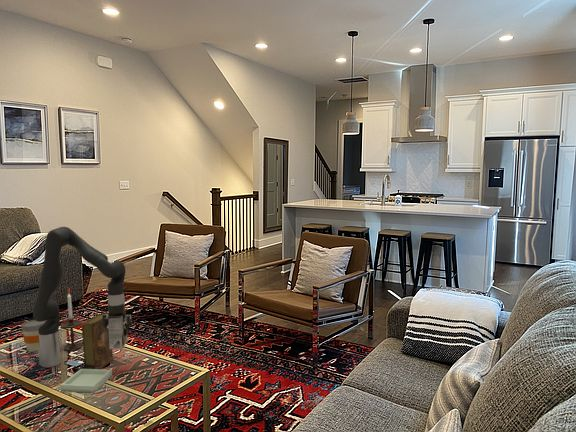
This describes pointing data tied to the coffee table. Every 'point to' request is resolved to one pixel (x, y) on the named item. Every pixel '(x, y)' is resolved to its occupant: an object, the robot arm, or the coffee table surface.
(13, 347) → the coffee table surface
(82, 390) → the tray
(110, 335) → the coffee box
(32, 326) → the reusable coffee cup
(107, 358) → the book
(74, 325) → the candlestick
